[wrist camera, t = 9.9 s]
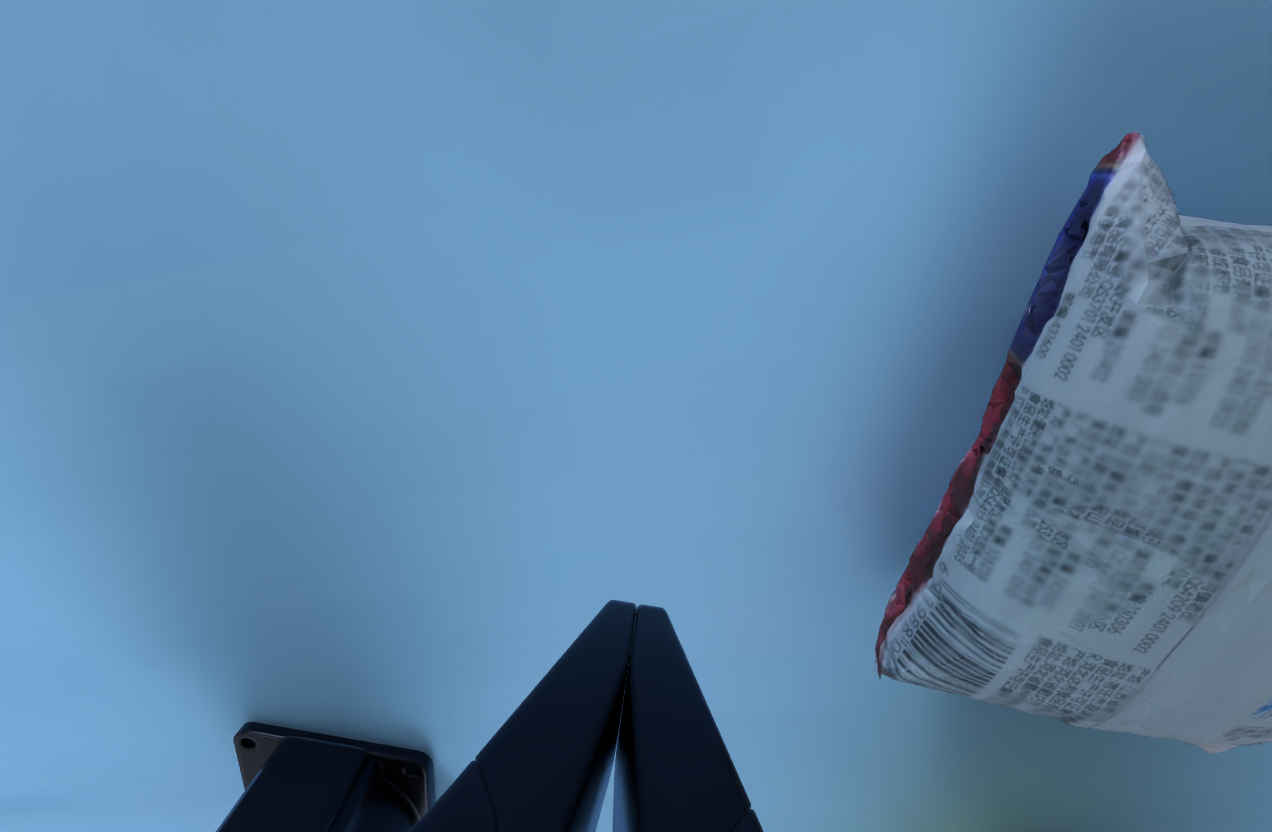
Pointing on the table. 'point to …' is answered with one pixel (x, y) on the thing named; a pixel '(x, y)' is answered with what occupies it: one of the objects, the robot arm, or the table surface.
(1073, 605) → the packaged food
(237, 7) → the table surface
